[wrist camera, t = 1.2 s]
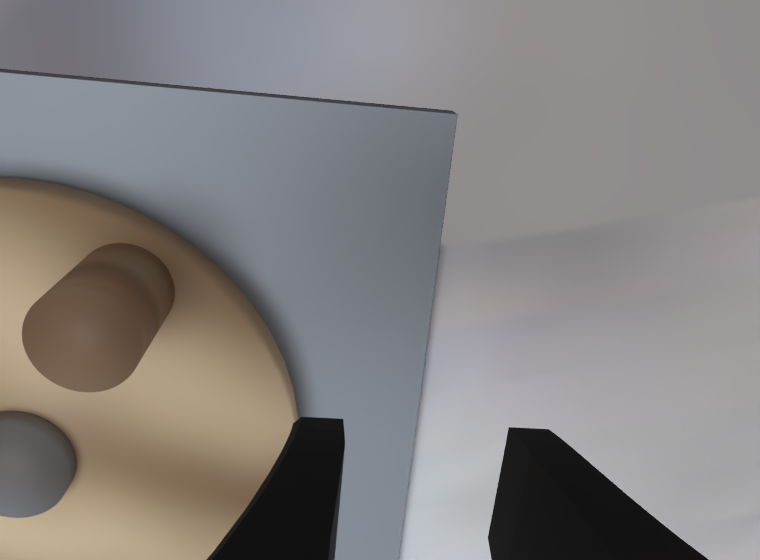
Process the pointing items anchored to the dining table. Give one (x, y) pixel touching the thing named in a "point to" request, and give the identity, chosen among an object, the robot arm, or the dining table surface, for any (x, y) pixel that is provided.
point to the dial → (125, 385)
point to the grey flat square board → (279, 237)
